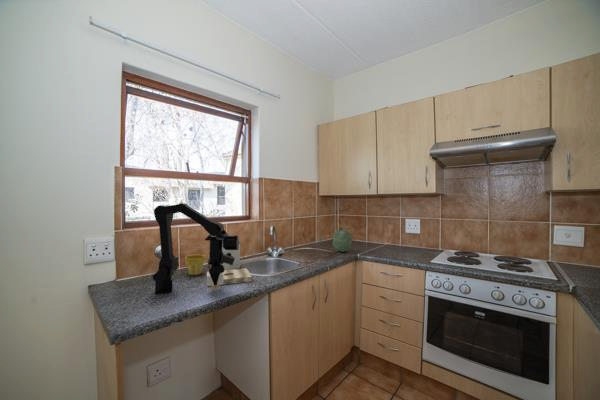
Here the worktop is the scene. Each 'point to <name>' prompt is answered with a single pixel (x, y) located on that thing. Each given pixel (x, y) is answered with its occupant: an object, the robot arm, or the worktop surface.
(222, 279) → the plug
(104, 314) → the worktop surface
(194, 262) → the plant pot
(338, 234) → the cabbage
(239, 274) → the socket board
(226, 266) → the supplement box
